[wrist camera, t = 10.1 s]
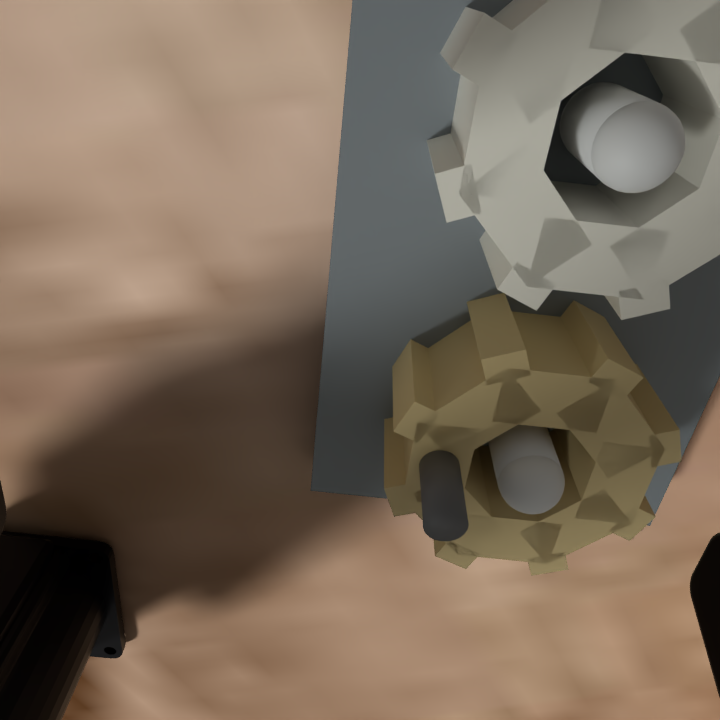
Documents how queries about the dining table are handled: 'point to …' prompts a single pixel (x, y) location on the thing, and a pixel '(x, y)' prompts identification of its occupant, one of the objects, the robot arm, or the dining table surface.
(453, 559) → the gear board
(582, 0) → the loose gear
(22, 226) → the dining table surface
